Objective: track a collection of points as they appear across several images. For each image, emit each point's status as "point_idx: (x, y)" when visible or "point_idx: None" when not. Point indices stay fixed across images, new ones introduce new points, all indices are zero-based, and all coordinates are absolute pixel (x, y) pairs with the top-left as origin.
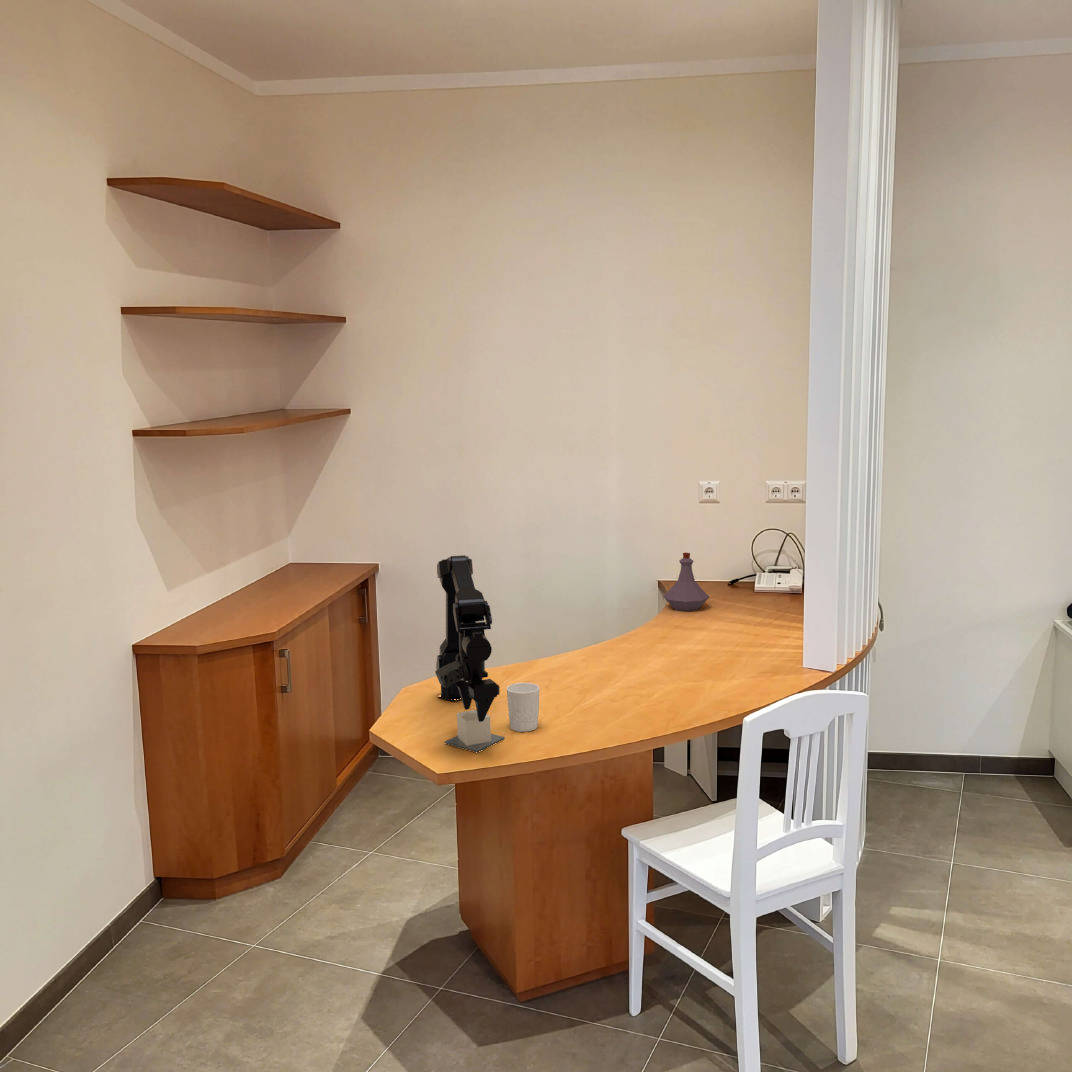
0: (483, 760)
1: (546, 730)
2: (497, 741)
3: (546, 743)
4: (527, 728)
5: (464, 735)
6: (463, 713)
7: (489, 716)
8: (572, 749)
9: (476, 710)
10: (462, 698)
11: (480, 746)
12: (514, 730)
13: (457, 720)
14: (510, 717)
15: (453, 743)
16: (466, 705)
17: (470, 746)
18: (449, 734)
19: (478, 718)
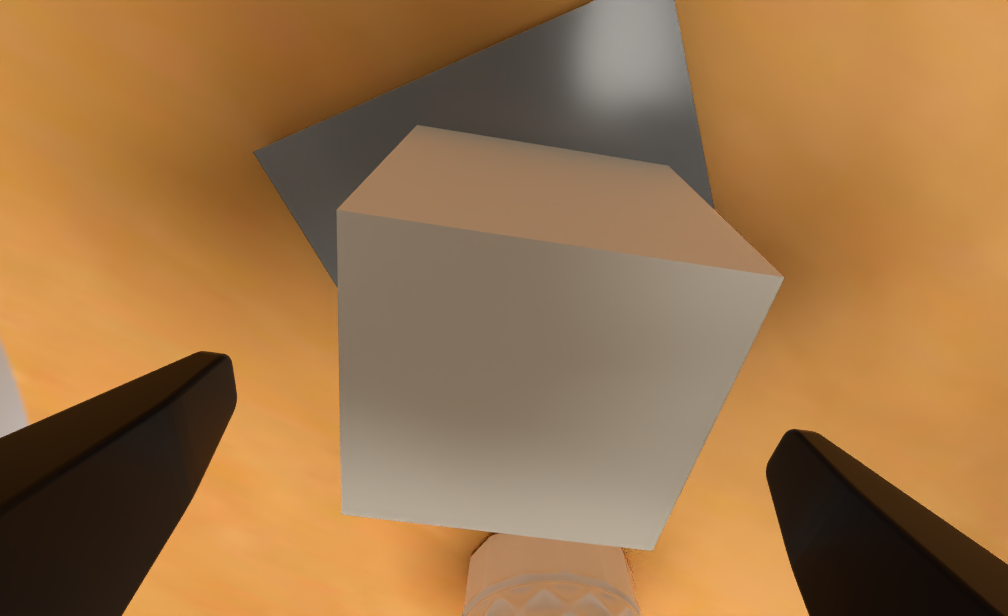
0: (79, 102)
1: (433, 611)
2: None
3: (258, 544)
4: (468, 574)
5: (463, 153)
6: (677, 341)
7: (354, 513)
8: None
9: (51, 467)
10: (951, 574)
11: None
12: None
13: (722, 226)
14: (571, 596)
15: (553, 37)
16: (808, 489)
17: (383, 147)
18: (833, 160)
19: (160, 373)
